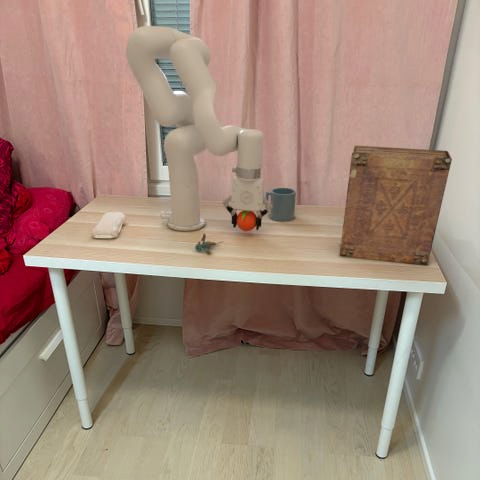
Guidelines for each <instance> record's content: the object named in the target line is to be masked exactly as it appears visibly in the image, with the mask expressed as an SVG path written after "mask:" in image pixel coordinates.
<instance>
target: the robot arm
mask: <svg viewBox="0 0 480 480" xmlns="http://www.w3.org/2000/svg"><path fill="white" fill-rule="evenodd" d="M125 54H126V61H127V64H128V66H129V69H130V71H131V72H132V75H133V77H134V78H135V80H136V82H137V83H138V84H137V85H138V86H139V87H140V90H141V92H142V95H143V96H144V99H145V101H146V103H147V105H148V107H149V110H150V112H151V114H152V116H153V118H154V120H155V121H156V123H157V124H158V125H159V126H161V127H172V126H176V128H174V129H172V130H170V131H169V132H168V133H167V134H166V136H165V138H164V141H163V149H164V154H165V159H166V162H167V169H168V180H169V191H170V192H169V193H170V207H171V210H170V211H160V214H159V215H160V217H161V219H162V220H168V221H167V226H168V228H169V229H171V230H175V231H180V232H191V231H196V230H199V229H201V228H203V227H204V226H205V219H203V218H202V217H201V212H200V211H201V210H200V209H201V208H200V192H199V191H200V188H199V187H200V186H199V171H198V166H197V163H196V160H195V156H198V155H200V154H202V153H204V152H205V151H206V150H208V151H209V153H211V154H212V155H213V156H216V157H223V156H226V155H228V154H230V153H234V152H237V154H236V155H237V157H236V159H237V161H236V166H235V167H232V169H231V170H232V171H231V172H232V173H235V175H234V176H233V180H232V185H231V193H230V194H231V195H229V196H228V197H227V198H224V200H223V201H222V206H224V207H225V209H226V211H227V212H228V213H229V214H230V216H231V225H232V228H233V229H236V227H237V226H238V225H237V222H236V219H237V215H238V213H237V211H243V210H246V211H253V212H255V214H256V216H257V221H256V227H255V230H256V231H259V230H260V228H262V220H263V217H265V216H266V215H267V214H268V213H270V210H271V209H272V205H271V202H270V201H269V200H268V201H267V200H266V199H265V184H264V177H263V176H262V168H263V167H262V165H263V150H264V133H263V132H262V131H261V130H259V129H253V128H244V127H240V126H237V125H233V124H228V125H225V126H221V124H220V121H219V119H218V117H217V115H216V112H215V98H216V96H217V91H218V85H217V84H216V82H215V80H214V79H213V78H214V77H213V76H212V74H211V72H210V70H209V68H208V66H209V64H210V63H211V59H212V57H211V50H210V48H209V46H208V45H207V43H206V42H205V41H204V40H202V39H201V38H198V37H196V36H194V35H191V34H188V33H185V32H183V31H180V30H178V29H176V28H173V27H170V26H163V25H162V26H159V25H158V26H157V25H142V26H139V27H137V28H135V29H134V30H132V32H131V33H129V36H128V38H127V42H126V47H125ZM163 59H168V60H170V62H171V64H172V65H173V68H174V70H175V72H176V73H177V76H178V77H179V80H180V82H181V84H182V85H183V87H184V89H185V91H186V92H184V91H182V90H174V91H173V89H172V87H171V85H170V83H169V81H168V78H167V76H166V75H165V73H164V71H163V70H162V69H161V67H160V66H159V65H158V64H157V62H156V60H163ZM265 205H266V207H267V208H264V209H263V207H264V206H265Z"/></svg>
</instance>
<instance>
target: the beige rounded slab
mask: <svg viewBox="0 0 480 480" xmlns="http://www.w3.org/2000/svg"><path fill="white" fill-rule="evenodd" d="M125 225H127V217H126V215H125V214H124V213H123V212H120V211H119V212H118V211H109V212H105V213H104V214H103V215H102V216H101V217H100V219H99V220H98V222H97V224H96V226H95V227H92V229H91V230H92V231H91V234H92V238H94V239H116V238H118V237H119V234H120V232H121V229H122V227H123V226H125Z"/></svg>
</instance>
